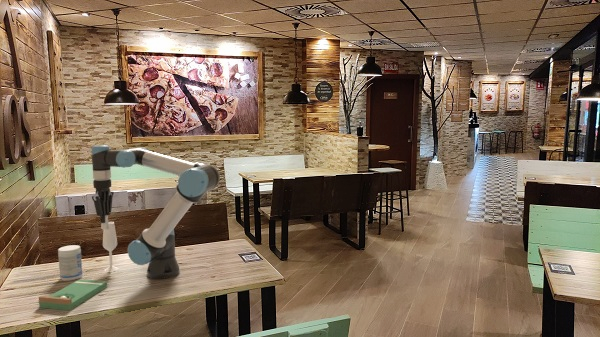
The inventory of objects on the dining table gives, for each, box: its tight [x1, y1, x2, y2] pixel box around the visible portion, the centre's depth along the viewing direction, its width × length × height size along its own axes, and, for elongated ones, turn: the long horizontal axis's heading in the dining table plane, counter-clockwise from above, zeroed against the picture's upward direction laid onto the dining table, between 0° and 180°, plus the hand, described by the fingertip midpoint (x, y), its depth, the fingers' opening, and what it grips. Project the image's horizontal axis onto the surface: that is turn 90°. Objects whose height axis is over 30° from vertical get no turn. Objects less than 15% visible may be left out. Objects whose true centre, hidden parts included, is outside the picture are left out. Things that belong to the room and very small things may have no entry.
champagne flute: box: [102, 221, 120, 273], centre depth 217 cm, size 7×7×24 cm
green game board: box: [38, 278, 108, 311], centre depth 186 cm, size 14×24×4 cm, turn 169°
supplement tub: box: [57, 244, 83, 282], centre depth 207 cm, size 10×10×15 cm
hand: (105, 229), depth 202 cm, fingers closed
